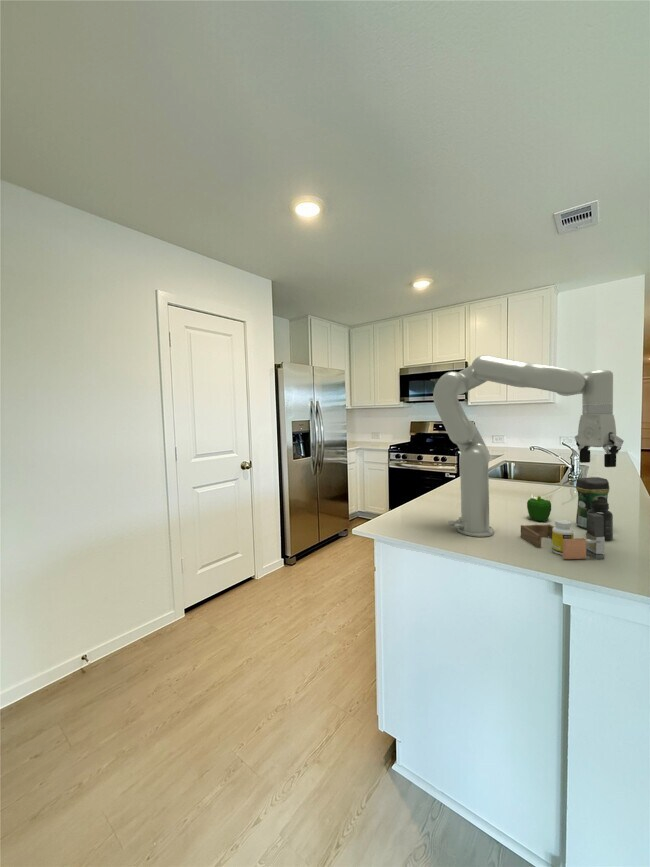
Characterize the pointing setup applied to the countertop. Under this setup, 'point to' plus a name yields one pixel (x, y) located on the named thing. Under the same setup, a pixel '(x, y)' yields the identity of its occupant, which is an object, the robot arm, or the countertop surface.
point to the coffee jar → (589, 496)
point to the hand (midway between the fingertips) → (596, 464)
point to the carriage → (587, 539)
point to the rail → (596, 556)
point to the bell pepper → (539, 508)
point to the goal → (536, 533)
